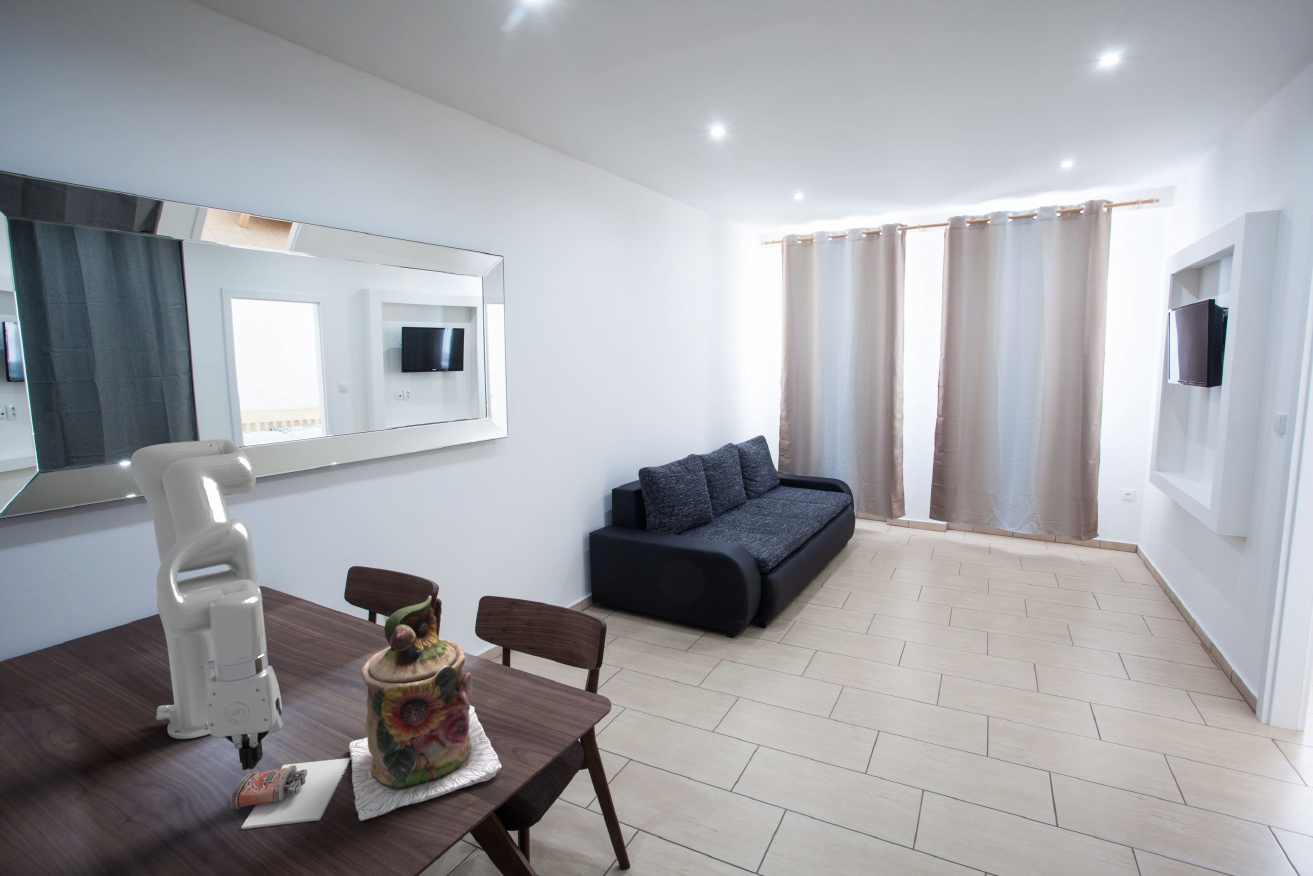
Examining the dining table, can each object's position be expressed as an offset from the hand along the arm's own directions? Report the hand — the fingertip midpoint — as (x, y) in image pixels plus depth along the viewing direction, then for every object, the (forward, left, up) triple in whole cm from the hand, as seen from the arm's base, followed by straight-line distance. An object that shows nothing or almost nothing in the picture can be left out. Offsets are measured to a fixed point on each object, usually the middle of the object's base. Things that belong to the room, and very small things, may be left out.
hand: (252, 764), depth 109 cm
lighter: (-2, 0, -4) cm, 5 cm away
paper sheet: (+7, 0, -6) cm, 10 cm away
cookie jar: (+27, +5, -6) cm, 28 cm away
